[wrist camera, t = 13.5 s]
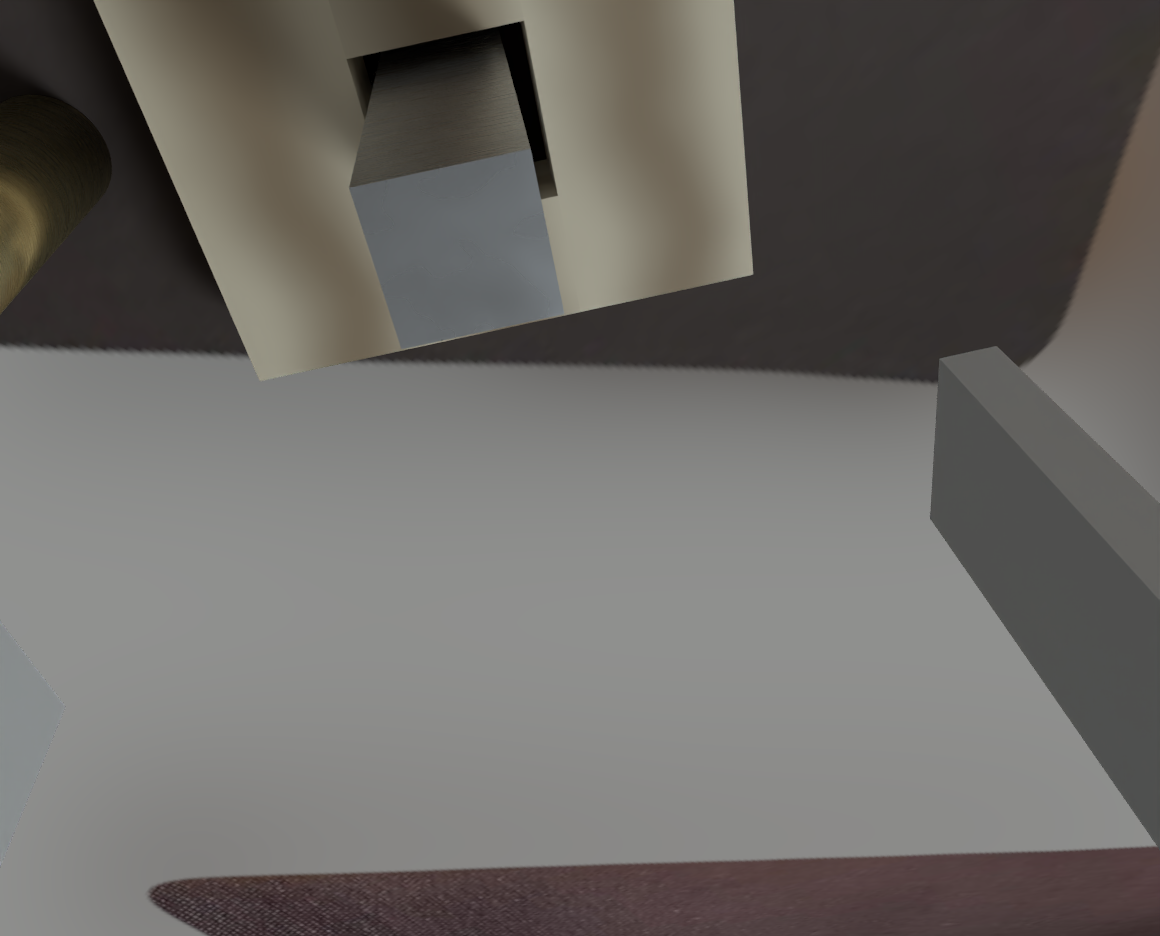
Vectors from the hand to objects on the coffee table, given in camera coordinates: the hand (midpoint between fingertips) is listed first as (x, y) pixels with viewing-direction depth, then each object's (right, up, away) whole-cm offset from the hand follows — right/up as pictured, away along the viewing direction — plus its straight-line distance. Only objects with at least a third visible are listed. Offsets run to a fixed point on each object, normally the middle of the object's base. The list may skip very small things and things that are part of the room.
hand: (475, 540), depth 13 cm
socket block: (-3, +14, +20) cm, 24 cm away
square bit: (-3, +14, +20) cm, 24 cm away
